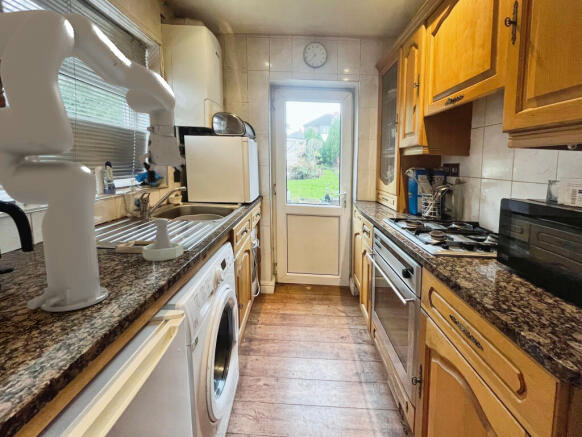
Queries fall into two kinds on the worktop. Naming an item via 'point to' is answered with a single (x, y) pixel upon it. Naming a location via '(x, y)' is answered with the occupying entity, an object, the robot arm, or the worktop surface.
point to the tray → (129, 249)
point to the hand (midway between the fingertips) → (165, 182)
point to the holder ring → (162, 252)
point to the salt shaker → (162, 234)
